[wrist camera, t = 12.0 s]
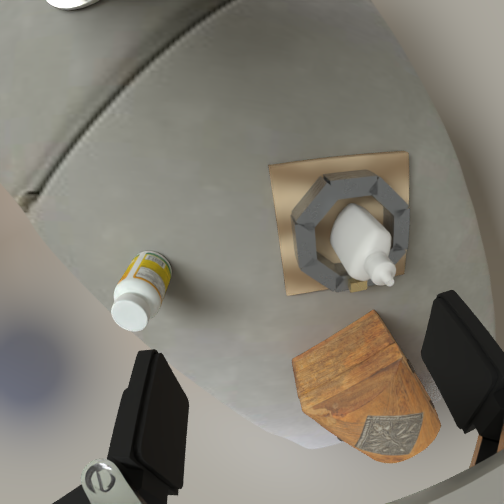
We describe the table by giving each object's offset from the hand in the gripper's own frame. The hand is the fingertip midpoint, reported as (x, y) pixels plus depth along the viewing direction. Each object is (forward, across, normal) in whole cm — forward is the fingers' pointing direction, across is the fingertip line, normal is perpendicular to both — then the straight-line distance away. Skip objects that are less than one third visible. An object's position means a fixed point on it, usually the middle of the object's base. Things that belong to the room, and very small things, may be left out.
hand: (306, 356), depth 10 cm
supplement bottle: (+26, +15, +10) cm, 31 cm away
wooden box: (+25, -14, +39) cm, 48 cm away
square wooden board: (+25, -9, +8) cm, 28 cm away
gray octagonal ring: (+24, -9, +8) cm, 27 cm away
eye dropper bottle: (+24, -9, +8) cm, 27 cm away
